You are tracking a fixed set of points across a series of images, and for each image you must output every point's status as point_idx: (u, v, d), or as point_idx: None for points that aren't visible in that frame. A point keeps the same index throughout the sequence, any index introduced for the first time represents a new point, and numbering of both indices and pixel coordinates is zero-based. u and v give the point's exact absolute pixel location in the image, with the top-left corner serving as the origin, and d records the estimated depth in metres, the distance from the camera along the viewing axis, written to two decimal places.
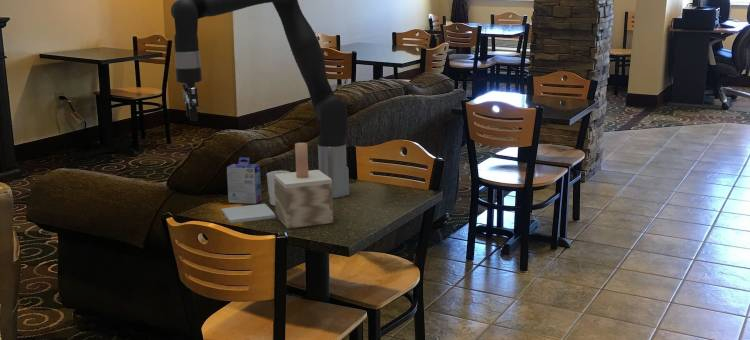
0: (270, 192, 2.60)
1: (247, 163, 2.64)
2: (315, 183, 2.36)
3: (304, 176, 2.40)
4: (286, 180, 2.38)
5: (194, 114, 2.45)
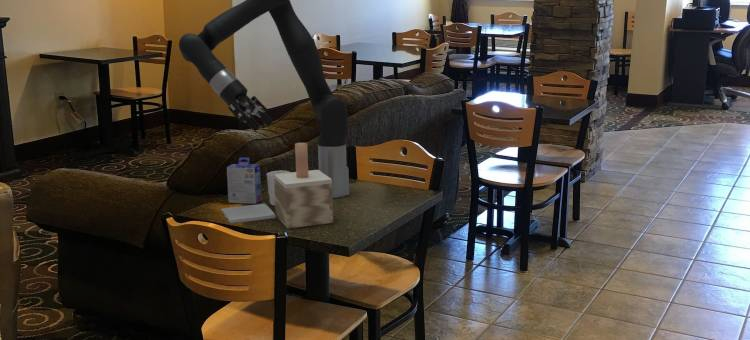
0: (270, 192, 2.60)
1: (247, 163, 2.64)
2: (315, 183, 2.36)
3: (304, 176, 2.40)
4: (286, 180, 2.38)
5: (251, 124, 2.38)
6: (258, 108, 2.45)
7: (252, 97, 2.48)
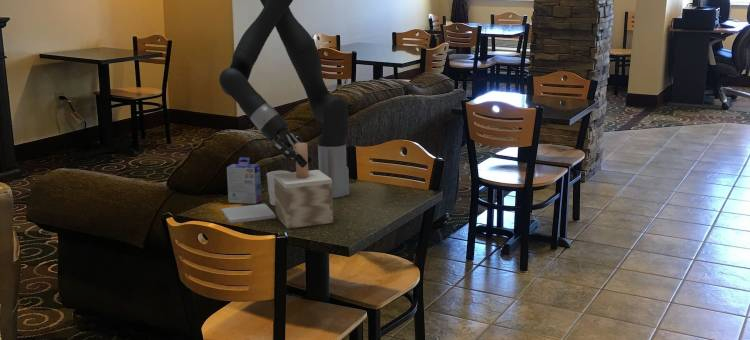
0: (270, 192, 2.60)
1: (247, 163, 2.64)
2: (315, 183, 2.36)
3: (304, 176, 2.40)
4: (286, 180, 2.38)
5: (299, 160, 2.37)
6: None
7: (295, 134, 2.46)
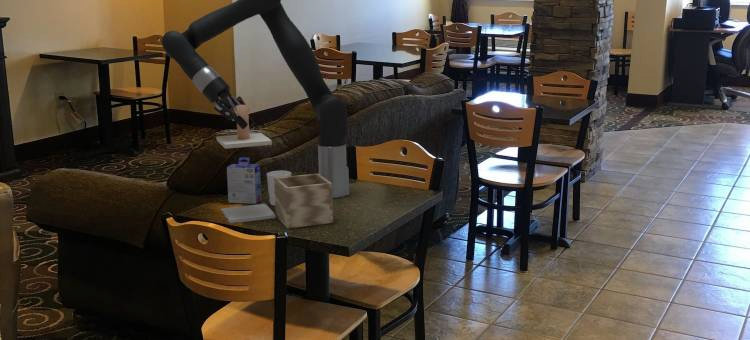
0: (270, 192, 2.60)
1: (247, 163, 2.64)
2: (255, 144, 2.40)
3: (245, 138, 2.44)
4: (226, 141, 2.41)
5: (239, 122, 2.41)
6: None
7: None
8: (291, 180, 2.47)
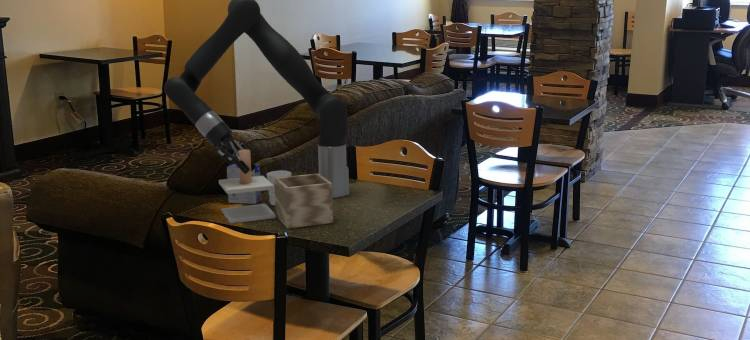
0: (270, 192, 2.60)
1: None
2: (257, 189, 2.43)
3: (247, 182, 2.47)
4: (229, 186, 2.44)
5: (241, 167, 2.44)
6: None
7: (240, 141, 2.53)
8: (291, 180, 2.47)
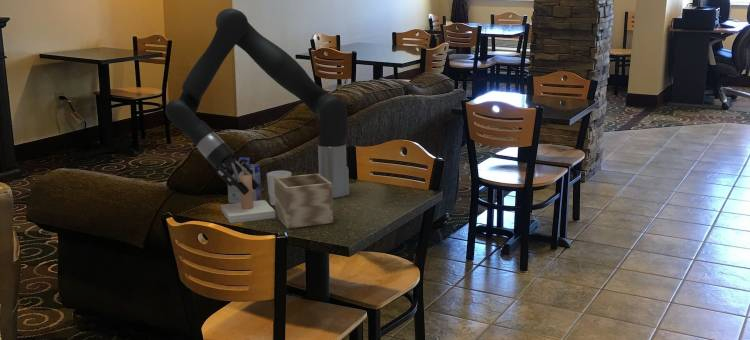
0: (270, 192, 2.60)
1: (247, 163, 2.64)
2: (258, 215, 2.45)
3: (249, 207, 2.49)
4: (231, 212, 2.46)
5: (240, 188, 2.45)
6: (244, 171, 2.50)
7: (240, 160, 2.54)
8: (291, 180, 2.47)
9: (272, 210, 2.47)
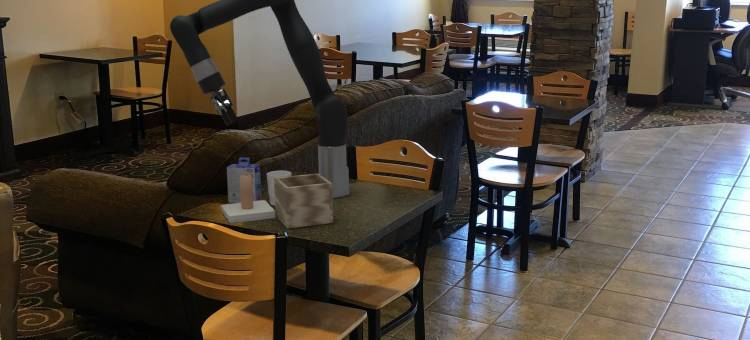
0: (270, 192, 2.60)
1: (247, 163, 2.64)
2: (258, 215, 2.45)
3: (249, 207, 2.49)
4: (231, 212, 2.46)
5: (232, 114, 2.48)
6: None
7: None
8: (291, 180, 2.47)
9: (272, 210, 2.47)
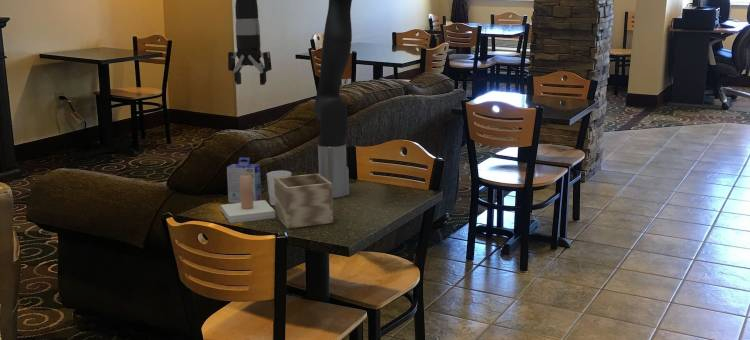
0: (270, 192, 2.60)
1: (247, 163, 2.64)
2: (258, 215, 2.45)
3: (249, 207, 2.49)
4: (231, 212, 2.46)
5: (265, 78, 2.58)
6: (243, 65, 2.61)
7: (233, 52, 2.60)
8: (291, 180, 2.47)
9: (272, 210, 2.47)
